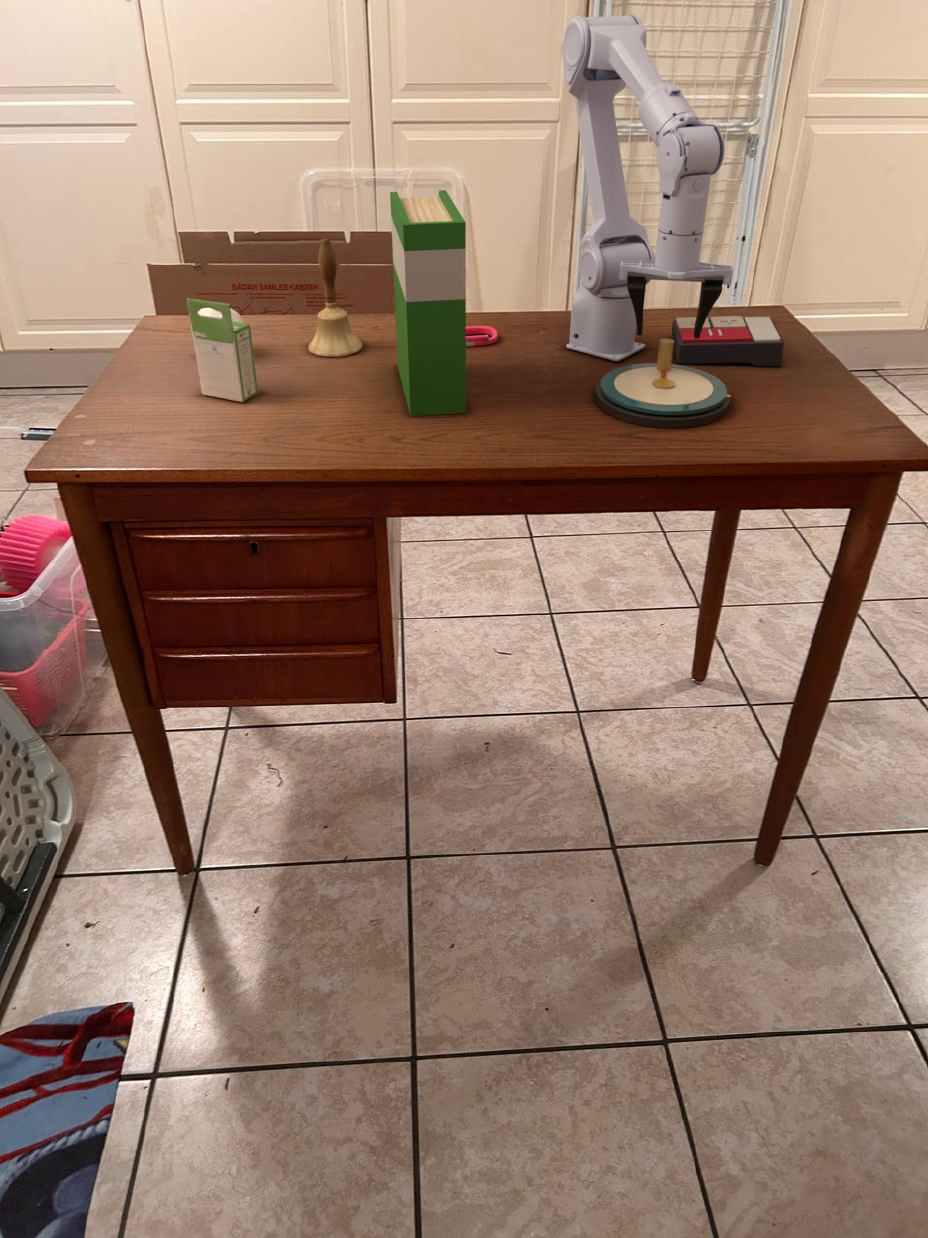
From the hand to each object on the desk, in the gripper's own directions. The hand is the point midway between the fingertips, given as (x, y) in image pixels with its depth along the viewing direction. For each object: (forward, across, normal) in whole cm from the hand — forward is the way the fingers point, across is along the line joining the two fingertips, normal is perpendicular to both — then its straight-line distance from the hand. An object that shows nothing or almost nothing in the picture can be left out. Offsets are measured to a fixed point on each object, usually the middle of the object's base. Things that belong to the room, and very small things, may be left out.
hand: (667, 334), depth 131 cm
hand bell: (+7, -50, +6) cm, 50 cm away
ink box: (+7, -59, -14) cm, 61 cm away
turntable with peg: (+6, 0, -6) cm, 8 cm away
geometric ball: (+7, -66, +1) cm, 66 cm away
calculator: (+7, +9, +14) cm, 18 cm away
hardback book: (+7, -32, -7) cm, 33 cm away
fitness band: (+7, -29, +13) cm, 33 cm away
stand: (+7, 0, -6) cm, 9 cm away
